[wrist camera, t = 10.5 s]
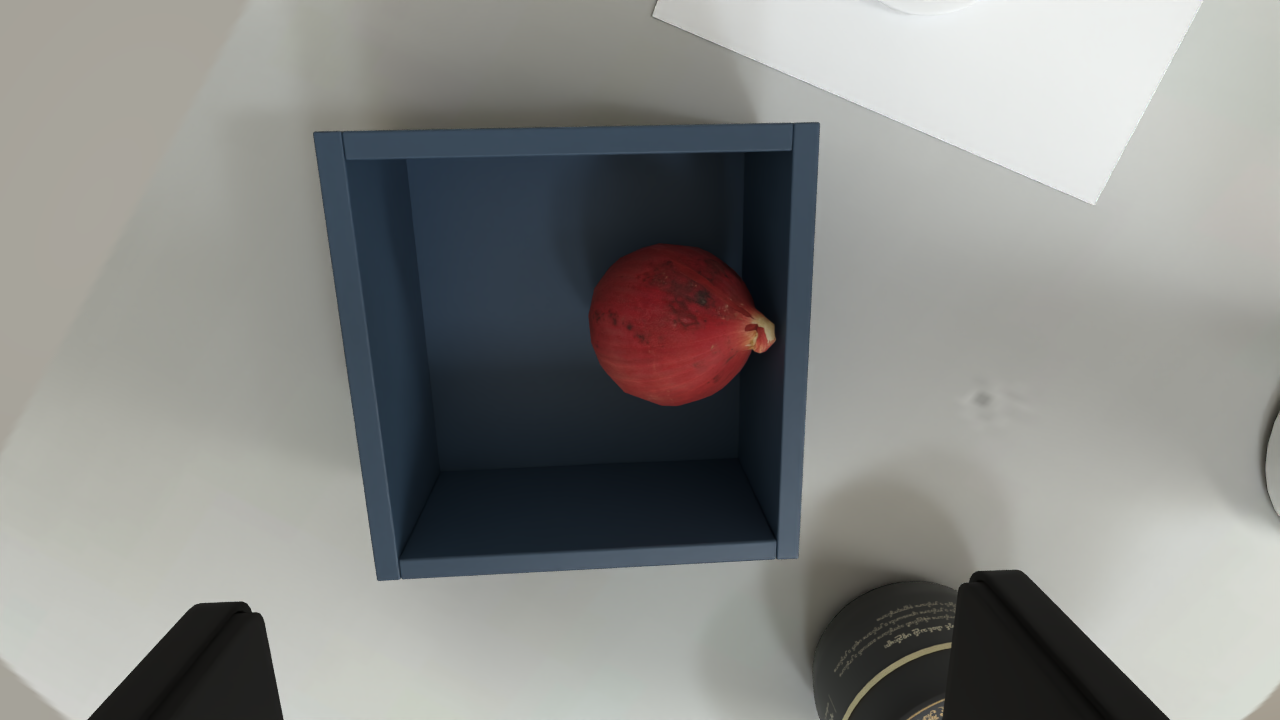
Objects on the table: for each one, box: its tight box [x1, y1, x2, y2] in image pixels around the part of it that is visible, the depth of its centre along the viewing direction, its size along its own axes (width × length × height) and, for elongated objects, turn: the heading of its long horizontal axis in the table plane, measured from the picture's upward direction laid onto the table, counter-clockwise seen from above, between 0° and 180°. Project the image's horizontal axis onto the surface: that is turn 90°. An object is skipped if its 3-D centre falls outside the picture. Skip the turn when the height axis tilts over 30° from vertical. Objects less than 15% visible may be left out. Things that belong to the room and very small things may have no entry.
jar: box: [813, 582, 958, 720], centre depth 32 cm, size 10×10×8 cm
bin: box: [313, 122, 820, 581], centre depth 26 cm, size 15×15×8 cm
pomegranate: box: [588, 243, 776, 406], centre depth 26 cm, size 6×6×8 cm
